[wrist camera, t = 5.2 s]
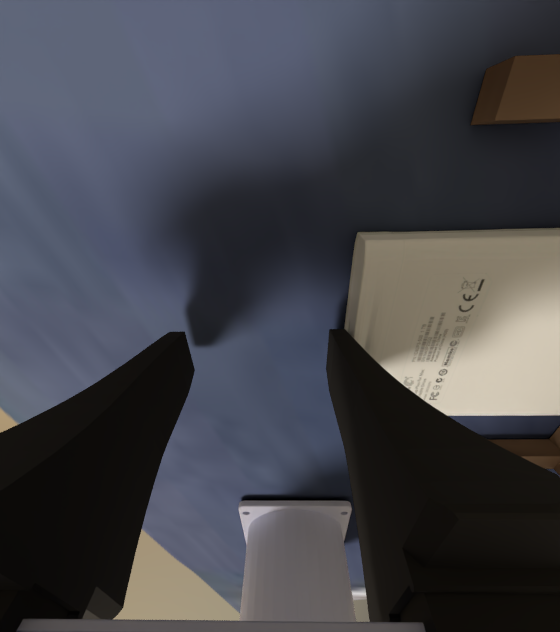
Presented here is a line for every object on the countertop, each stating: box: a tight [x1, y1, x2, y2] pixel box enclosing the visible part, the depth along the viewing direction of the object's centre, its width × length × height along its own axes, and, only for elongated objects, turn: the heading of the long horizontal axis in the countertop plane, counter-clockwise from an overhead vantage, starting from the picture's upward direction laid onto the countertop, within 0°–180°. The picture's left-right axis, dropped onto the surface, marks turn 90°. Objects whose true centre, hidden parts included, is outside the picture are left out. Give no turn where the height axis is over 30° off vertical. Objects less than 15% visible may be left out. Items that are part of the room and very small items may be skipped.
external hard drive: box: [344, 228, 560, 416], centre depth 10 cm, size 2×8×12 cm
